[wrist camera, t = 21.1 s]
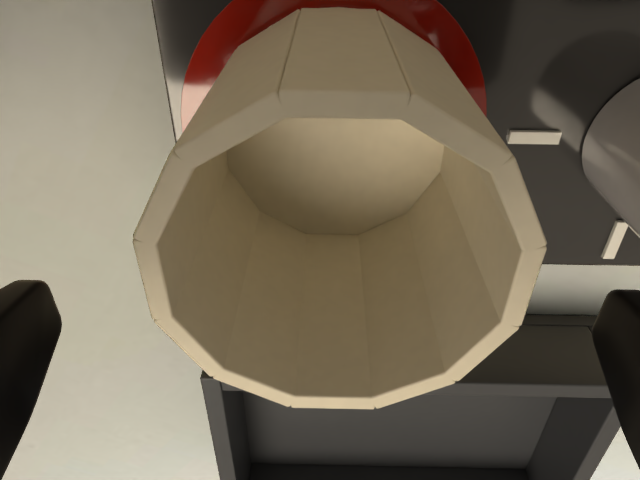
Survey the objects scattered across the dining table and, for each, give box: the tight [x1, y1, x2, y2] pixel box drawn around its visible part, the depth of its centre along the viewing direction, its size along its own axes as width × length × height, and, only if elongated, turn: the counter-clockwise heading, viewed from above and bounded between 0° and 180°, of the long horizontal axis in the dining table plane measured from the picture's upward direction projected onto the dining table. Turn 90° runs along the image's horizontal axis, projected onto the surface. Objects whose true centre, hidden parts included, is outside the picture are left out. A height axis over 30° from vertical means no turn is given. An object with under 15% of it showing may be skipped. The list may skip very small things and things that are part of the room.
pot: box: [133, 7, 547, 409], centre depth 11 cm, size 7×7×6 cm
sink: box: [201, 315, 621, 480], centre depth 22 cm, size 16×11×4 cm
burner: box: [181, 0, 487, 133], centre depth 14 cm, size 8×8×1 cm
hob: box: [151, 0, 640, 266], centre depth 15 cm, size 18×9×2 cm, turn 90°
